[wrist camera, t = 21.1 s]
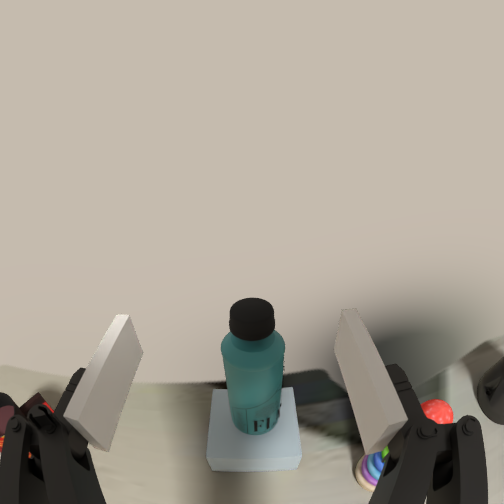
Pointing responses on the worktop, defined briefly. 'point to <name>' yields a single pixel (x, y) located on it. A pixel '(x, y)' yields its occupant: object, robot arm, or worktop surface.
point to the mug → (16, 411)
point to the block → (252, 439)
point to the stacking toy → (372, 464)
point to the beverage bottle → (253, 366)
